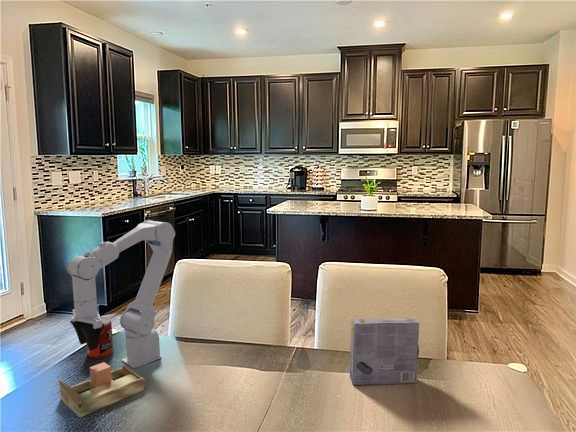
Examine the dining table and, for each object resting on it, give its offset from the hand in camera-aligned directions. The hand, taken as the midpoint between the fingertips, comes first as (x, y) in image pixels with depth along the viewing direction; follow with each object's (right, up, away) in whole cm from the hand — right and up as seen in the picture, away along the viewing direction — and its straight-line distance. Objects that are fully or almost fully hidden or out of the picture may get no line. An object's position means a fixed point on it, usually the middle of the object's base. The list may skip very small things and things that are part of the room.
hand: (88, 346), depth 122 cm
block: (+5, -9, -3) cm, 10 cm away
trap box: (+6, -11, -6) cm, 14 cm away
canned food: (-5, -8, +19) cm, 21 cm away
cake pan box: (+83, -10, 0) cm, 84 cm away
